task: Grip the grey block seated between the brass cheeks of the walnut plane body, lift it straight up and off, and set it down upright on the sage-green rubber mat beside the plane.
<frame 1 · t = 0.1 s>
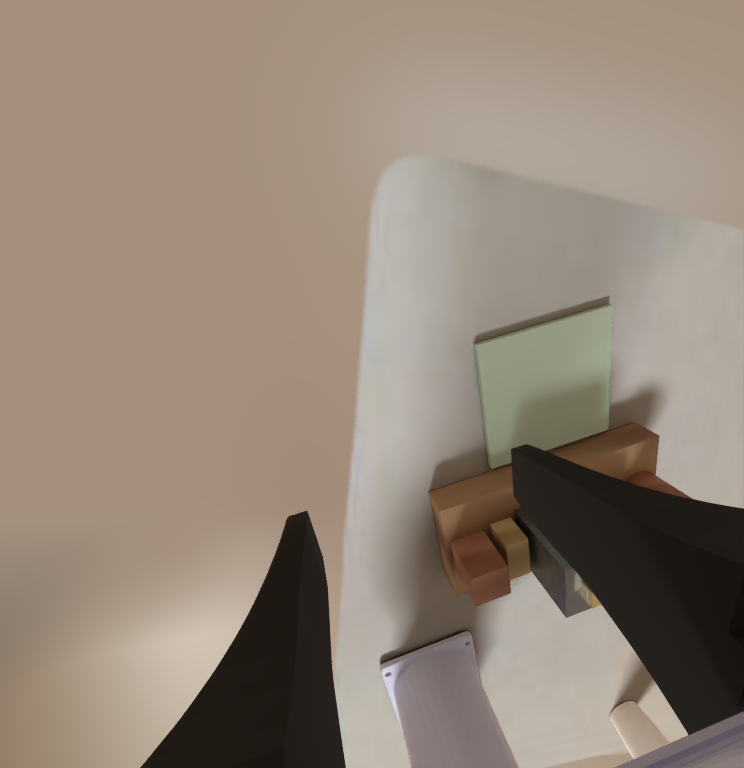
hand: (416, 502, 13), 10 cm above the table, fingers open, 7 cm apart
plane body: (537, 499, 28), on the table
cup: (621, 708, 43), on the table
grey block: (555, 518, 26), point 2 cm above the table, touching plane body
mat: (544, 389, 24), on the table
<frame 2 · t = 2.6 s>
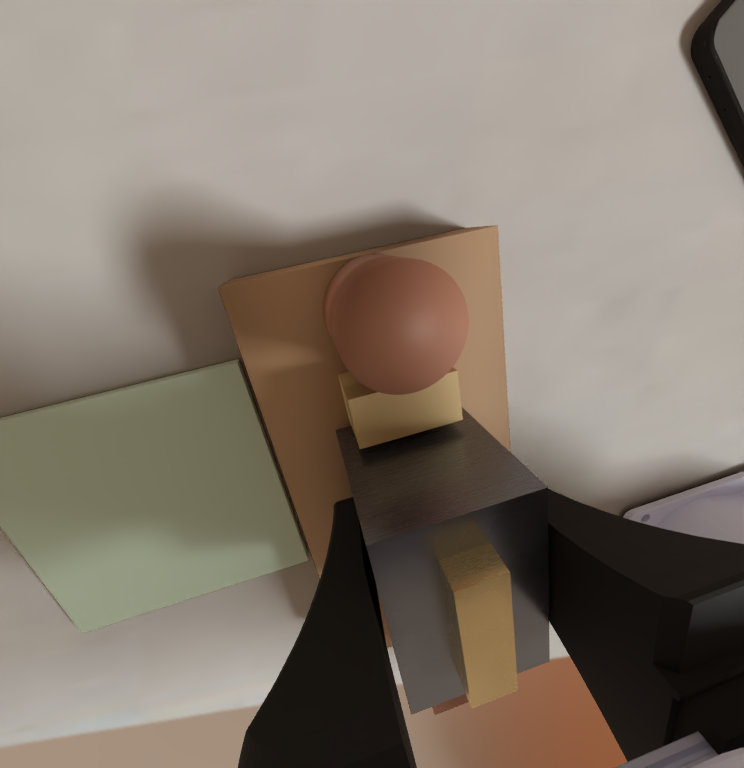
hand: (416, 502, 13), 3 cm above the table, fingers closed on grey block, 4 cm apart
plane body: (394, 456, 15), on the table
grey block: (408, 486, 13), point 2 cm above the table, touching gripper, plane body
mat: (156, 502, 14), on the table
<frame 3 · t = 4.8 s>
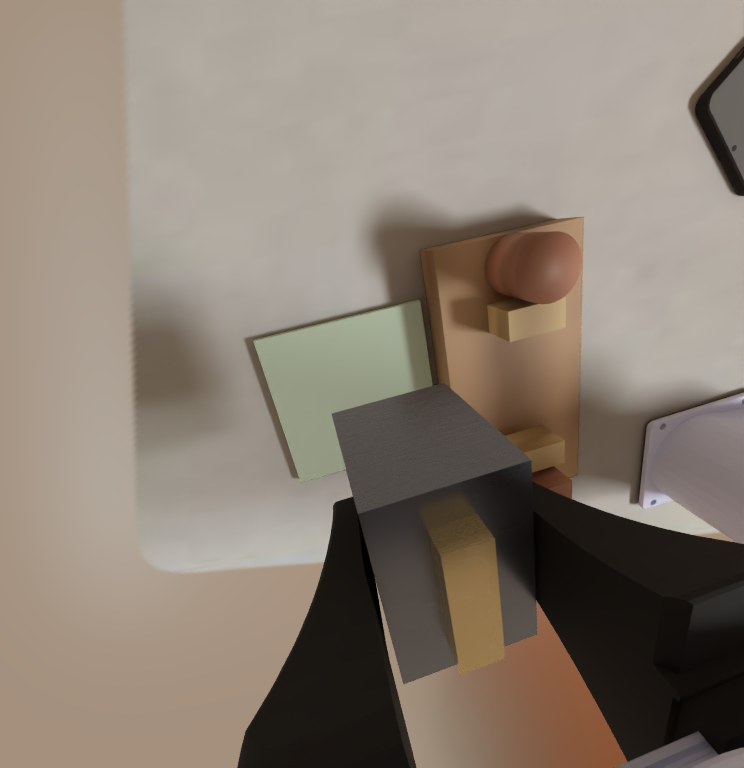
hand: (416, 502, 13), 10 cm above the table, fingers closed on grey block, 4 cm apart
plane body: (499, 370, 23), on the table
grey block: (403, 470, 14), point 9 cm above the table, touching gripper
mat: (355, 394, 22), on the table
when the fingers open (3 cm above the table, at t = 7.0 s): grey block drops 1 cm, resting on mat.
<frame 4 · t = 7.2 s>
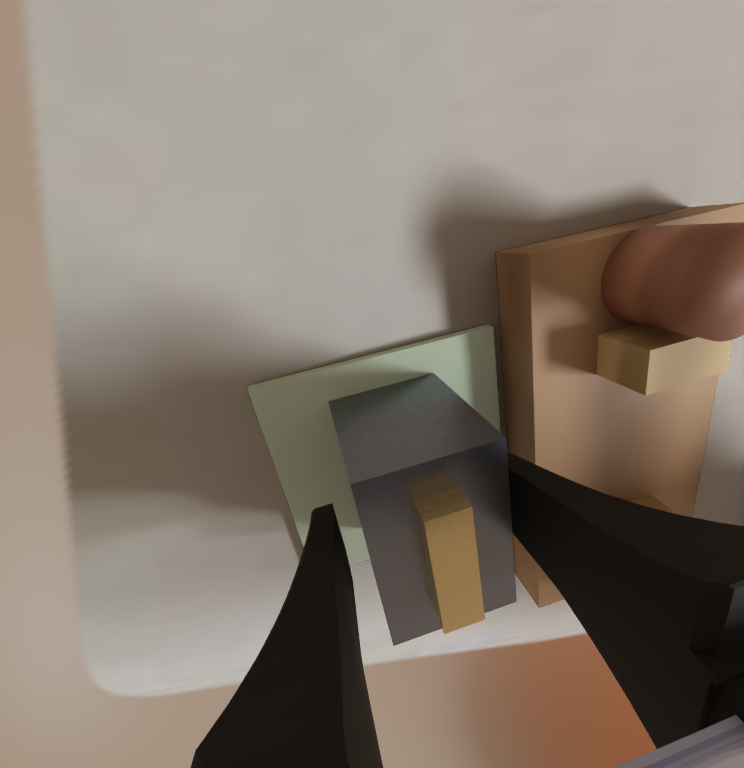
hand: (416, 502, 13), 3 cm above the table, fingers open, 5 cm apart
plane body: (589, 418, 17), on the table
grey block: (395, 455, 15), resting on mat
mat: (394, 456, 15), on the table
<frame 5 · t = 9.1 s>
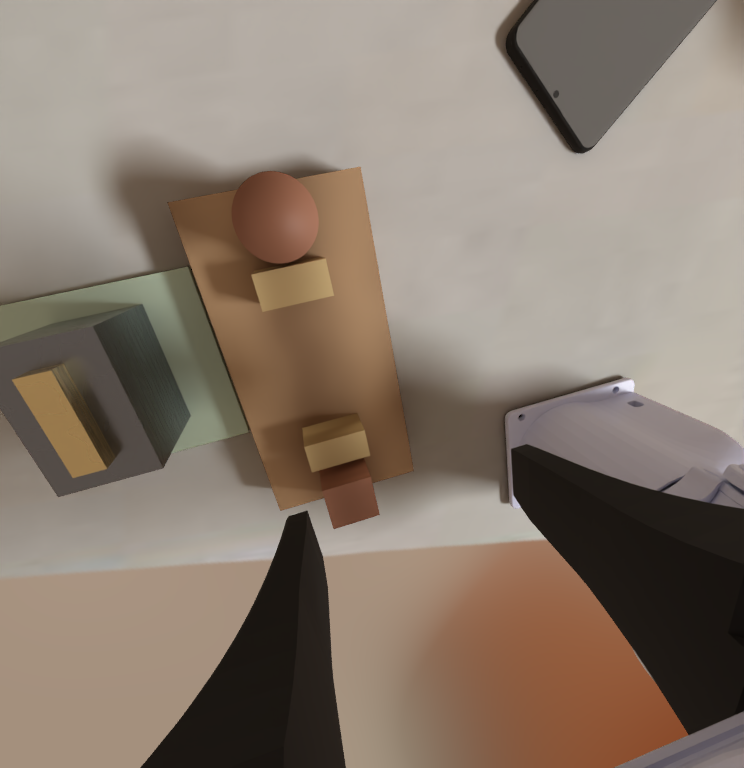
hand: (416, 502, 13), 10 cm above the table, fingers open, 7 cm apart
plane body: (311, 351, 20), on the table
grey block: (126, 373, 18), resting on mat
mat: (132, 376, 19), on the table
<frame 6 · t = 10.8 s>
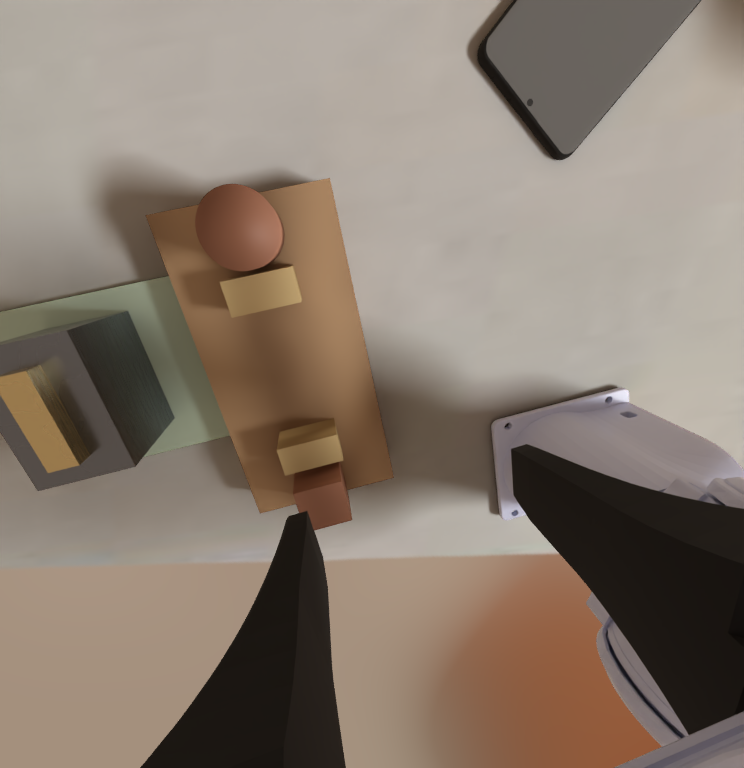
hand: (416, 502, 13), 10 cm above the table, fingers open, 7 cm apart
plane body: (292, 357, 21), on the table
grey block: (113, 376, 19), resting on mat
mat: (119, 379, 20), on the table
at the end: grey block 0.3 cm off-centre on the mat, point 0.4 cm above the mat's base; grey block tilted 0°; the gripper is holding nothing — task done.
